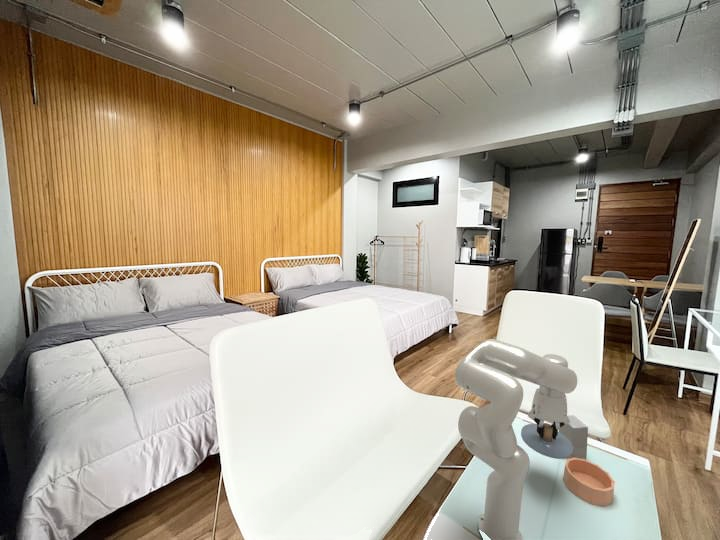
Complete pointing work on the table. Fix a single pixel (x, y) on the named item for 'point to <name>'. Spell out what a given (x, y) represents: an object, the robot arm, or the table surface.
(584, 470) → the bowl
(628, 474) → the table surface
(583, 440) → the skincare box
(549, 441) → the lid
